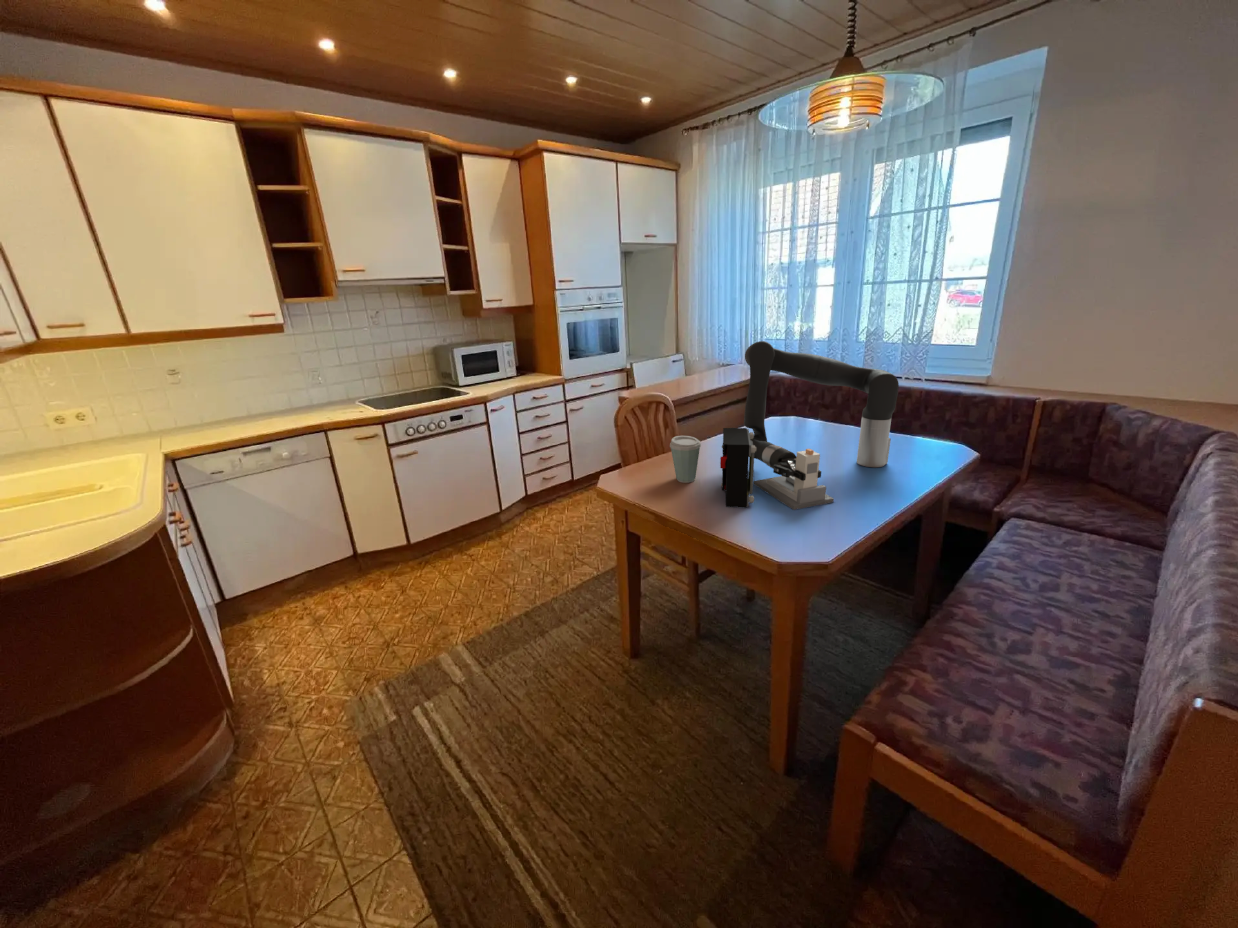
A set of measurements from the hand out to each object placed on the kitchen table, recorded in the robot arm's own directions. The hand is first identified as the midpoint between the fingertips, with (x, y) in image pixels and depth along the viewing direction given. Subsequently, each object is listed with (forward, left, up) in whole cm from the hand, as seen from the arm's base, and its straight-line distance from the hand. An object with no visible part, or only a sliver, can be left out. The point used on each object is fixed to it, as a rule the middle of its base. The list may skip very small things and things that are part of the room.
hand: (812, 476), depth 145 cm
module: (0, -3, -8) cm, 8 cm away
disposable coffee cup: (+26, -33, -9) cm, 43 cm away
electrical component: (+17, -14, -9) cm, 24 cm away
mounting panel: (0, -9, -9) cm, 13 cm away
